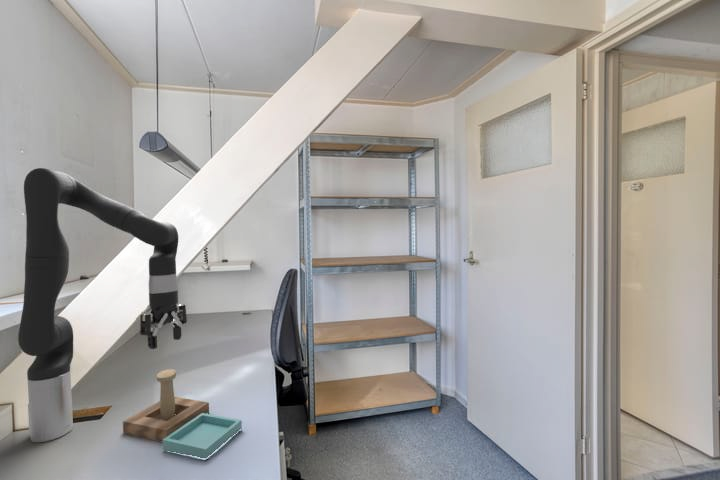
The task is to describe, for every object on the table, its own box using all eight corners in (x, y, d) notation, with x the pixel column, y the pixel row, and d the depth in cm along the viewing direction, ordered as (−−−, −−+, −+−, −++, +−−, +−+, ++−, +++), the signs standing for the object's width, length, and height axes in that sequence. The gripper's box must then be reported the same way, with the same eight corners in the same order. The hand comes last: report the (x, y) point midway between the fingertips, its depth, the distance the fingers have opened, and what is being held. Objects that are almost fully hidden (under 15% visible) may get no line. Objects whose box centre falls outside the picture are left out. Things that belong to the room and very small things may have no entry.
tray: (162, 450, 92) (162, 439, 92) (202, 422, 106) (202, 412, 106) (206, 461, 88) (205, 449, 88) (241, 430, 101) (241, 420, 101)
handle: (178, 416, 110) (176, 368, 109) (175, 426, 104) (174, 376, 103) (160, 419, 108) (159, 370, 108) (157, 430, 102) (155, 379, 102)
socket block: (123, 433, 101) (122, 421, 101) (169, 406, 116) (169, 395, 116) (166, 443, 96) (166, 430, 96) (209, 413, 111) (208, 402, 111)
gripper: (173, 285, 113) (175, 335, 113) (131, 293, 99) (134, 350, 100) (192, 286, 110) (193, 337, 111) (152, 294, 97) (154, 353, 97)
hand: (165, 343), depth 105 cm, fingers open, 8 cm apart
